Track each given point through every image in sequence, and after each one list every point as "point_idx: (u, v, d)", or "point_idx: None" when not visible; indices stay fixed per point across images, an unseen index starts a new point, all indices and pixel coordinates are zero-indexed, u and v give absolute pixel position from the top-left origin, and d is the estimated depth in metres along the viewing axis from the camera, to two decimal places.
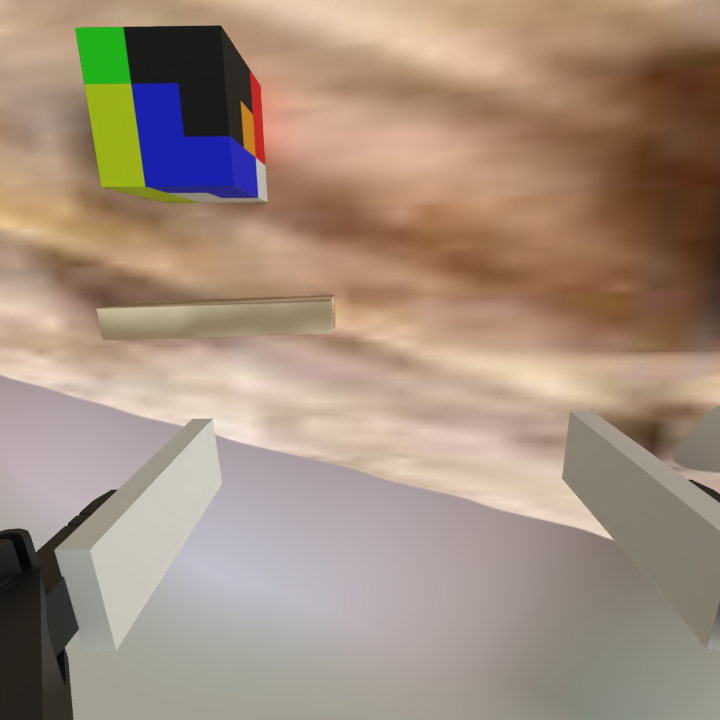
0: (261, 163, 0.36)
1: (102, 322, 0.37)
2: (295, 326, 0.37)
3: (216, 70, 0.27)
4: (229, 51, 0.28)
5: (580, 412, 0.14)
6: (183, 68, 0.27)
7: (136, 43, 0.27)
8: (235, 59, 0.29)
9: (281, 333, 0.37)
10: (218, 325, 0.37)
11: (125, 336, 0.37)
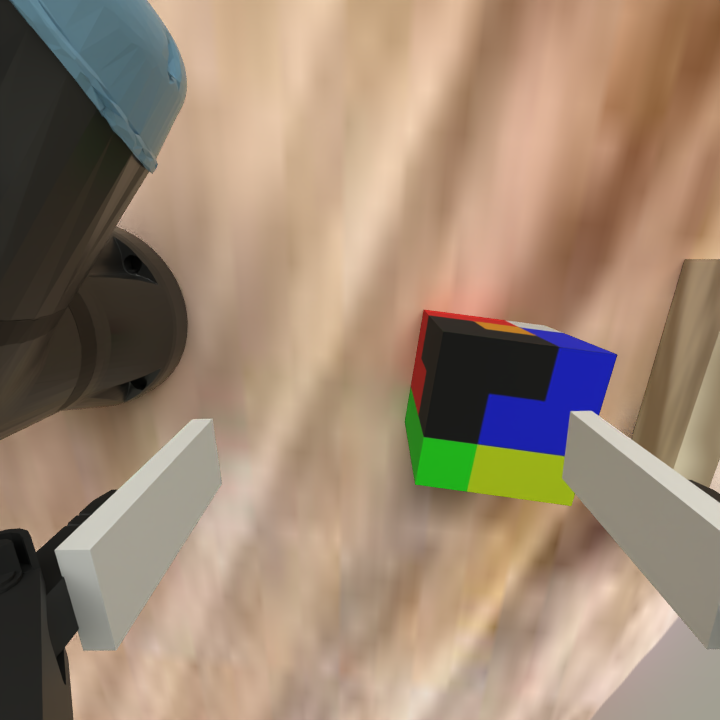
0: (511, 323, 0.31)
1: None
2: None
3: (485, 347, 0.23)
4: (453, 329, 0.24)
5: (580, 412, 0.14)
6: (475, 383, 0.23)
7: (441, 428, 0.24)
8: (449, 325, 0.25)
9: None
10: (719, 414, 0.28)
11: None
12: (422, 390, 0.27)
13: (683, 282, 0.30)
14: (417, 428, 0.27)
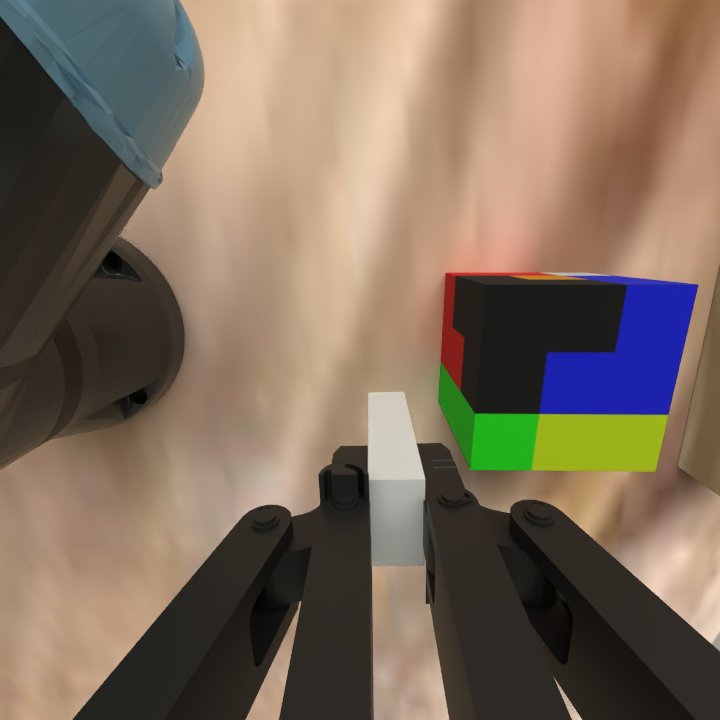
0: (548, 273, 0.27)
1: None
2: None
3: (539, 297, 0.19)
4: (494, 282, 0.20)
5: (393, 392, 0.16)
6: (530, 342, 0.19)
7: (494, 400, 0.20)
8: (486, 280, 0.21)
9: None
10: None
11: None
12: (461, 361, 0.23)
13: None
14: (461, 405, 0.23)
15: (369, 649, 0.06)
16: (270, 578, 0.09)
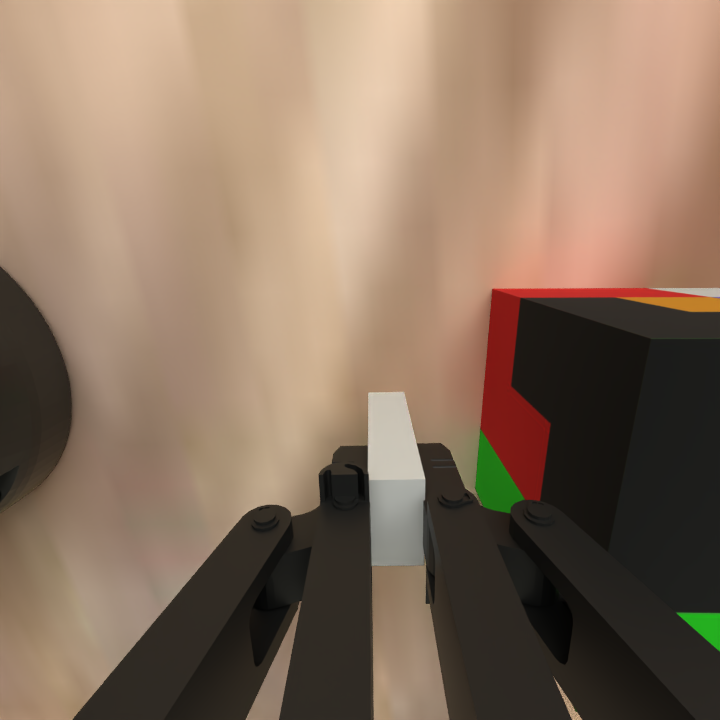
0: (673, 291, 0.16)
1: None
2: None
3: None
4: (644, 324, 0.09)
5: (393, 392, 0.16)
6: None
7: None
8: (609, 315, 0.10)
9: None
10: None
11: None
12: (542, 465, 0.12)
13: None
14: None
15: (369, 649, 0.06)
16: (270, 578, 0.09)
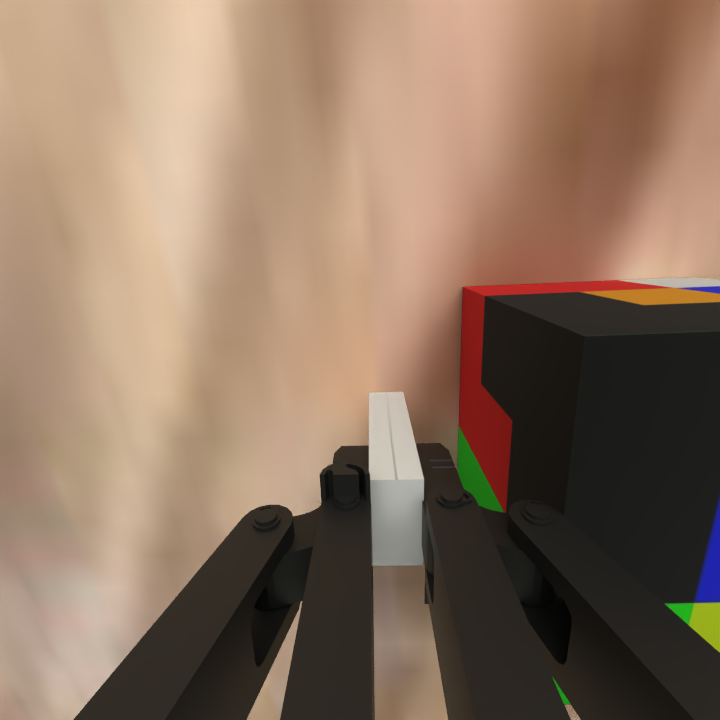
0: (641, 283, 0.16)
1: None
2: None
3: (715, 360, 0.08)
4: (588, 321, 0.09)
5: (392, 393, 0.16)
6: (686, 460, 0.08)
7: None
8: (560, 312, 0.10)
9: None
10: None
11: None
12: (507, 462, 0.12)
13: None
14: None
15: (370, 649, 0.06)
16: (271, 578, 0.09)
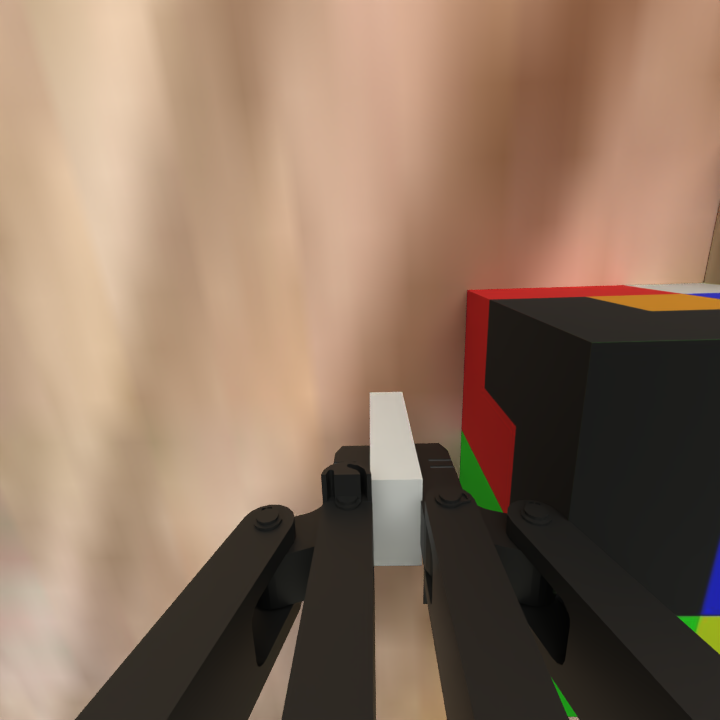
0: (648, 288, 0.15)
1: None
2: None
3: None
4: (595, 327, 0.09)
5: (391, 393, 0.16)
6: (694, 471, 0.08)
7: None
8: (566, 317, 0.10)
9: None
10: None
11: None
12: (510, 468, 0.12)
13: None
14: None
15: (371, 649, 0.06)
16: (273, 578, 0.09)
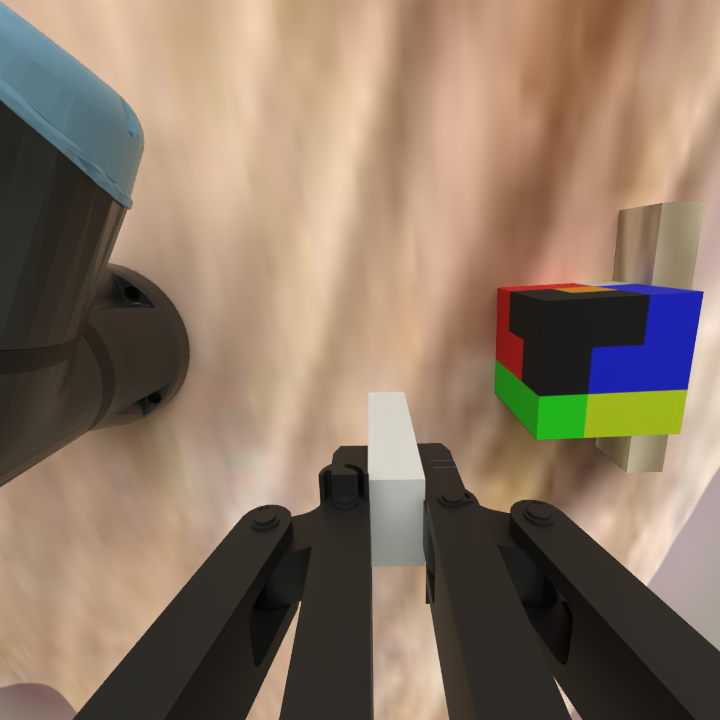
0: (583, 284, 0.33)
1: (642, 469, 0.34)
2: (687, 249, 0.29)
3: (584, 307, 0.26)
4: (548, 297, 0.27)
5: (393, 392, 0.16)
6: (579, 340, 0.26)
7: (553, 386, 0.27)
8: (540, 295, 0.28)
9: (692, 267, 0.29)
10: None
11: (662, 447, 0.33)
12: (521, 358, 0.30)
13: (621, 231, 0.33)
14: (523, 392, 0.30)
15: (369, 649, 0.06)
16: (270, 578, 0.09)
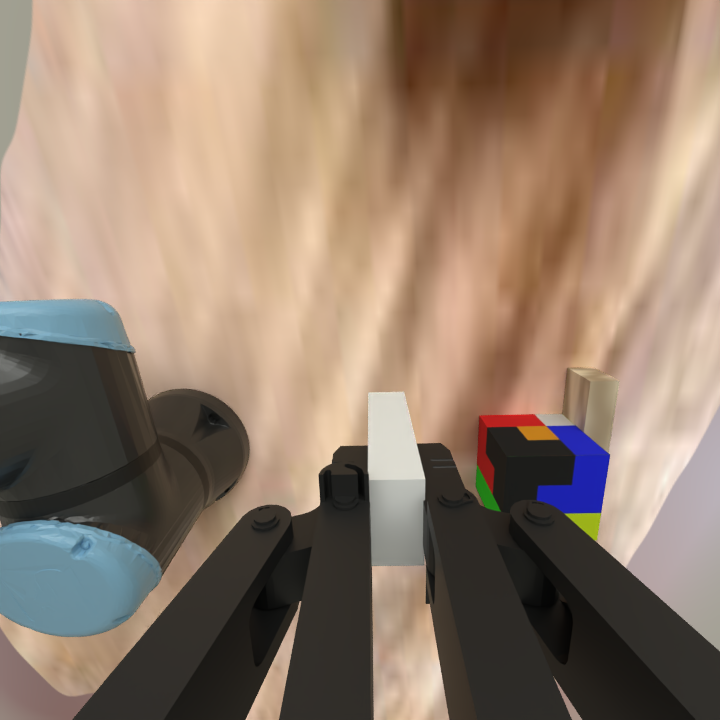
0: (539, 419, 0.47)
1: None
2: (607, 410, 0.42)
3: (532, 461, 0.39)
4: (510, 449, 0.40)
5: (393, 392, 0.16)
6: (529, 481, 0.39)
7: None
8: (505, 443, 0.41)
9: (611, 422, 0.43)
10: None
11: None
12: (493, 479, 0.43)
13: (568, 383, 0.46)
14: (493, 503, 0.43)
15: (369, 649, 0.06)
16: (270, 578, 0.09)
